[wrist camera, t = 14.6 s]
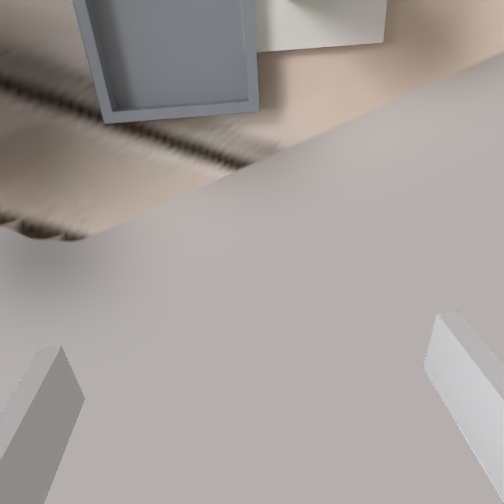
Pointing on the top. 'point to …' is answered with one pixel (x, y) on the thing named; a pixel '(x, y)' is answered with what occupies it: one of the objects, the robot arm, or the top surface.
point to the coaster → (317, 23)
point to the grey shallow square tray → (170, 57)
